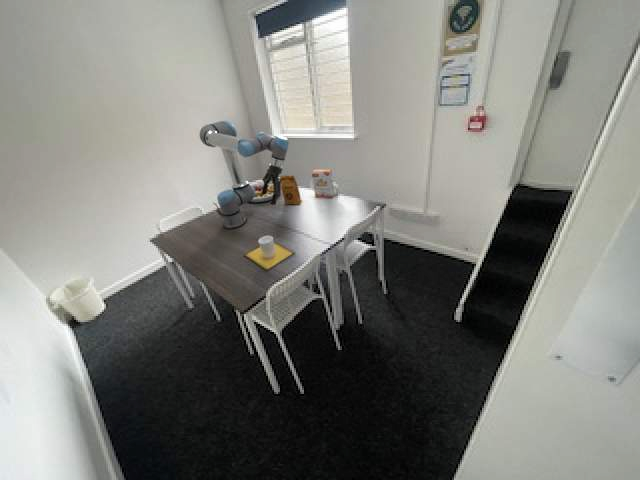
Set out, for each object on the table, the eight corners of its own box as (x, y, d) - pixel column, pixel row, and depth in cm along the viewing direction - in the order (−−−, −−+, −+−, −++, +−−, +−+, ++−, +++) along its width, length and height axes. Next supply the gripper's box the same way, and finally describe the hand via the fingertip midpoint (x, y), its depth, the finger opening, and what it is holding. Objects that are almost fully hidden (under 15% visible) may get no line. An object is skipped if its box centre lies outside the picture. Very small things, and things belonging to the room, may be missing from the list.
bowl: (288, 193, 222) (286, 184, 217) (260, 206, 205) (257, 197, 201) (267, 187, 241) (265, 179, 237) (240, 199, 224) (237, 191, 220)
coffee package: (297, 205, 197) (292, 177, 185) (283, 205, 201) (277, 178, 190) (303, 200, 204) (298, 173, 193) (288, 200, 209) (283, 173, 197)
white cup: (270, 260, 140) (266, 244, 135) (260, 256, 144) (255, 241, 139) (279, 252, 146) (275, 237, 141) (269, 249, 150) (265, 234, 145)
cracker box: (315, 197, 205) (311, 171, 194) (318, 194, 210) (314, 169, 199) (331, 198, 200) (328, 171, 189) (334, 195, 205) (331, 169, 193)
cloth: (245, 255, 148) (245, 255, 148) (270, 241, 158) (270, 240, 158) (266, 270, 134) (266, 269, 134) (293, 253, 144) (293, 252, 143)
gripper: (292, 174, 141) (282, 209, 151) (273, 158, 157) (265, 190, 167) (280, 173, 137) (271, 209, 147) (261, 156, 152) (254, 189, 162)
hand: (268, 199), depth 157 cm, fingers open, 13 cm apart
